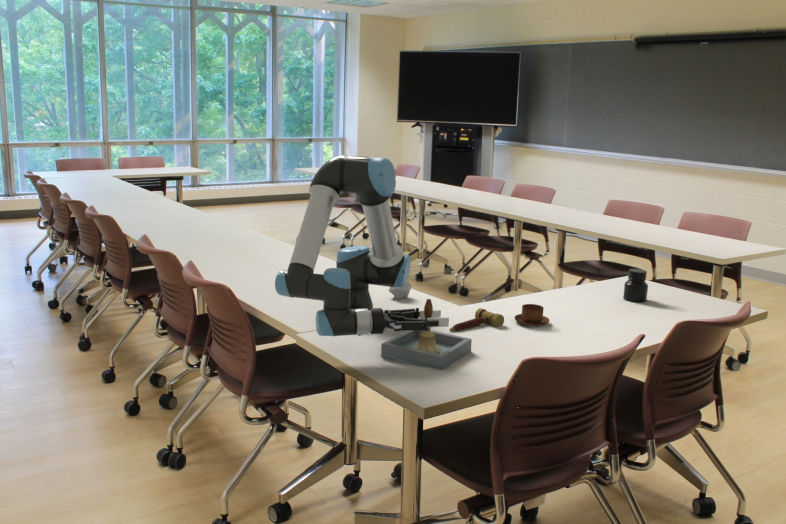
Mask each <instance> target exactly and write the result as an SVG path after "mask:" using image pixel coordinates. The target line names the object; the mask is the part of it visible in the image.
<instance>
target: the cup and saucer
mask: <svg viewBox="0 0 786 524" xmlns="http://www.w3.org/2000/svg"><path fill="white" fill-rule="evenodd" d="M544 310H545V309H544V306H542V305H540V304H534V303H527V304H523V305H522V306H521V313H520V314H516V315H515V316H514V320H515V321H516V322H517V323H518V324H521V325H523V326H528V327H543V326H546V325H548V324H549V323H550V318H549V317H548V316H545V315H544Z"/></svg>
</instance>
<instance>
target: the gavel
mask: <svg viewBox="0 0 786 524" xmlns="http://www.w3.org/2000/svg"><path fill="white" fill-rule="evenodd" d="M504 322H505V317H504V315H503V314H500V313H495V312H492V311H488V310H487V309H484V308H482V307H481V308H480V307H479V308H478V309H477V310H475V314H474V318H473V319H470V320H465V321H462V322H458V323H456V324H453V326H451V327H450V328H449V329H448V330H449V332H459V331H460V330H461V331H463V330H468V329H471V328H474V327H476V326H480V325H482V324H484V323H486V324H489V325H491V326H493V327H494V328H500V327H502V326H503V325H504Z"/></svg>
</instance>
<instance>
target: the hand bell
mask: <svg viewBox="0 0 786 524" xmlns="http://www.w3.org/2000/svg"><path fill="white" fill-rule="evenodd" d="M433 310H434V307H433V303H432V299H431V298H426V301H425V303H424V308H423V311H424V315H425V319H427V318H431V317H432V313H433ZM430 330H431V327H429V328H428V331H426V330H424V332H421V333H420V337H419V341H418V344H417V345H416V346H415V347H414V348H413V349H417V350H422V351H426V352H431V353H435V354H438V353H440V351H441V350H440V348H439V347H438V346H437V344H436V341H435V334H434V333H433V332H431V331H430Z"/></svg>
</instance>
